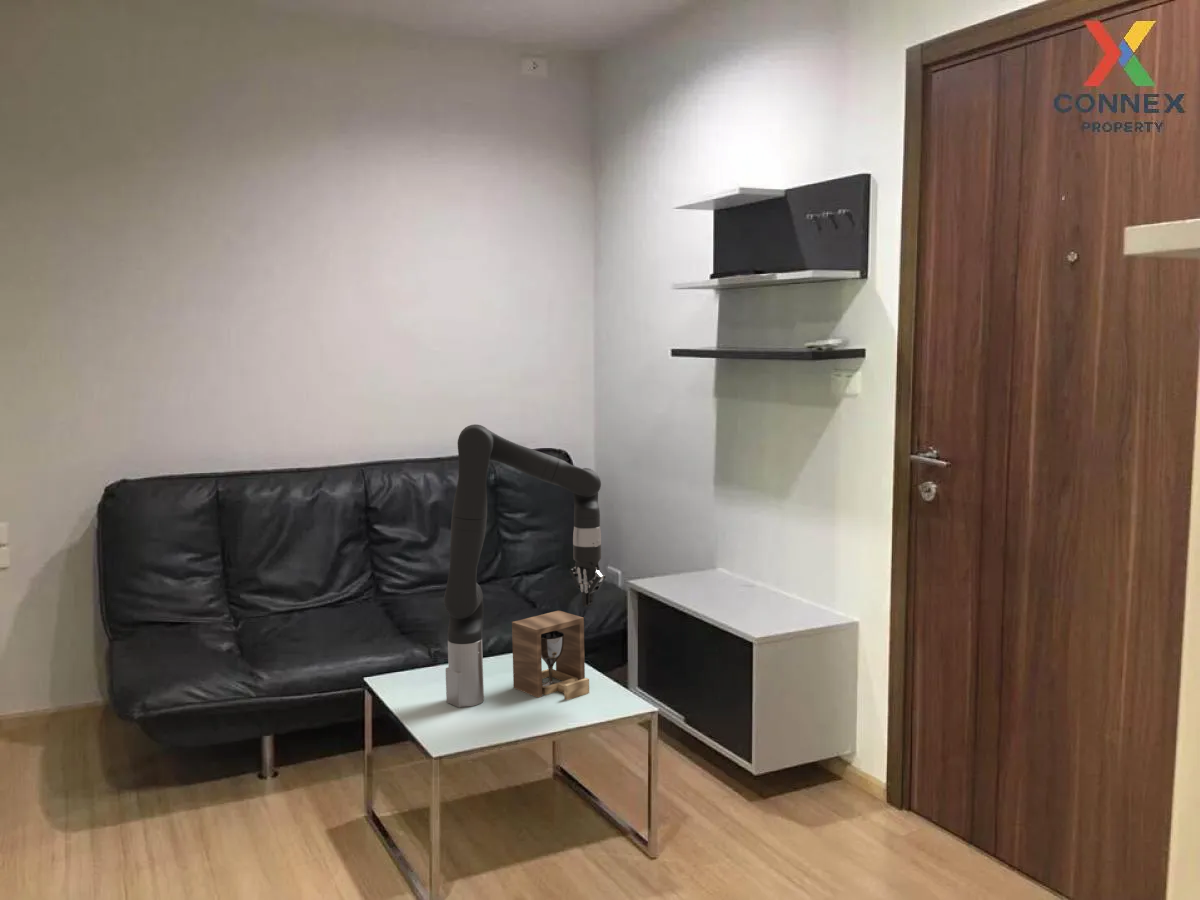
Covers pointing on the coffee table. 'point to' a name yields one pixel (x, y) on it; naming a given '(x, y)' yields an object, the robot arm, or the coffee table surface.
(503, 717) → the coffee table surface
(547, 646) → the wine glass
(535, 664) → the wooden arch frame
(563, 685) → the drawer
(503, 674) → the coffee table surface
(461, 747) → the coffee table surface
